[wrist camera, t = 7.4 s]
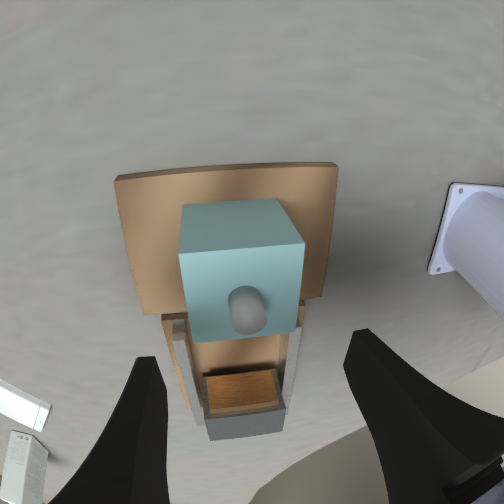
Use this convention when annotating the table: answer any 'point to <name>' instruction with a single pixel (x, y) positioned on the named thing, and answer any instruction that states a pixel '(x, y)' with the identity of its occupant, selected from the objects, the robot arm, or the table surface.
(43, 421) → the hard drive
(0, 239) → the table surface
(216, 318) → the block
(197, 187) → the frame
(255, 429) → the block
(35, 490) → the skincare box
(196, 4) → the table surface
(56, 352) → the table surface
